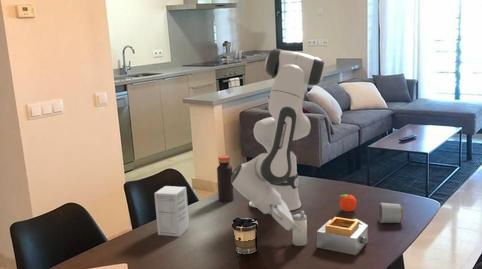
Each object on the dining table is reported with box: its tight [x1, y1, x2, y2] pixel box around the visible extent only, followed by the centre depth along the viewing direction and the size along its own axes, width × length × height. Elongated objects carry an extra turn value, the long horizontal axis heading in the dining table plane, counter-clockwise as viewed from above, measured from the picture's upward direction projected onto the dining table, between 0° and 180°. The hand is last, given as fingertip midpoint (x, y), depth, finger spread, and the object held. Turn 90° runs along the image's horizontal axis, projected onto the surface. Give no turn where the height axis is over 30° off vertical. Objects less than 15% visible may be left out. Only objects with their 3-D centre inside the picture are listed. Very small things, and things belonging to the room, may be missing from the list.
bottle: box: [216, 155, 235, 203], centre depth 234 cm, size 7×7×20 cm
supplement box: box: [154, 185, 190, 237], centre depth 201 cm, size 10×9×17 cm
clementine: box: [337, 194, 358, 212], centre depth 216 cm, size 8×7×7 cm
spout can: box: [292, 210, 308, 247], centre depth 186 cm, size 5×5×12 cm
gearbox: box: [316, 216, 369, 256], centre depth 183 cm, size 15×12×8 cm
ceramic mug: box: [378, 202, 404, 224], centre depth 204 cm, size 11×8×8 cm
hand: (297, 225), depth 186 cm, fingers open, 8 cm apart
